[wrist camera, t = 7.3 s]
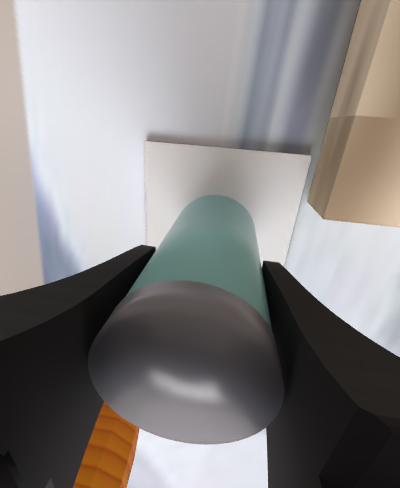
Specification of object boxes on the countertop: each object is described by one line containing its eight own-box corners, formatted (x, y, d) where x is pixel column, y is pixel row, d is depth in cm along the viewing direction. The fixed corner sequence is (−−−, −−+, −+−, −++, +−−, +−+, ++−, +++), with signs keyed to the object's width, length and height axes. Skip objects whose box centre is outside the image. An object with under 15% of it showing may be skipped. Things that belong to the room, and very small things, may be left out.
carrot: (100, 352, 22) (-103, 690, 9) (148, 345, 21) (-7, 727, 8) (125, 388, 24) (-15, 714, 11) (170, 383, 23) (76, 746, 10)
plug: (264, 200, 13) (312, 333, 4) (247, 274, 14) (259, 459, 6) (177, 188, 13) (77, 291, 5) (172, 262, 15) (95, 423, 7)
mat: (309, 154, 13) (311, 155, 13) (275, 292, 17) (276, 295, 17) (146, 140, 14) (143, 141, 14) (149, 274, 18) (147, 277, 18)
